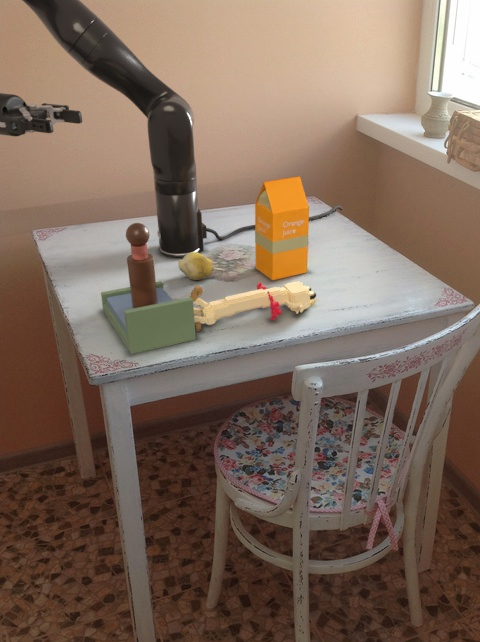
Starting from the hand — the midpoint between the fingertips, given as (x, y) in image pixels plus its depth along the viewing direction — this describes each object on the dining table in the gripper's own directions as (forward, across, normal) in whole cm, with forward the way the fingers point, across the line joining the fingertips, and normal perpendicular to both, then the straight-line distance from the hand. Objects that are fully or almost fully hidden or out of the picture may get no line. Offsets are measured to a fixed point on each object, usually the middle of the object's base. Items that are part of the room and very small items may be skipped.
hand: (66, 122), depth 130 cm
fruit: (+20, +11, +32) cm, 40 cm away
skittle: (+22, -12, +28) cm, 38 cm away
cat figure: (+38, 0, +32) cm, 50 cm away
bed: (+22, -12, +32) cm, 40 cm away
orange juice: (+34, +22, +32) cm, 52 cm away
